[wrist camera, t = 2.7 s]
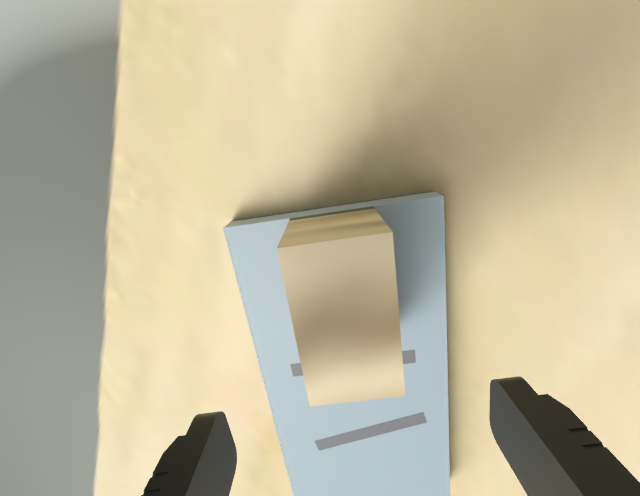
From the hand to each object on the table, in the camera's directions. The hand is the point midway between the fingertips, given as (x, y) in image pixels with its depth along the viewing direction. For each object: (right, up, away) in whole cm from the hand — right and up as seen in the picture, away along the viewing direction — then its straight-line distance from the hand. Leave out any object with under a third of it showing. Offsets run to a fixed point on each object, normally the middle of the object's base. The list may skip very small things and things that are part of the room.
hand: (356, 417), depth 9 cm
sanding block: (0, +3, +9) cm, 9 cm away
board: (+1, -4, +12) cm, 13 cm away
